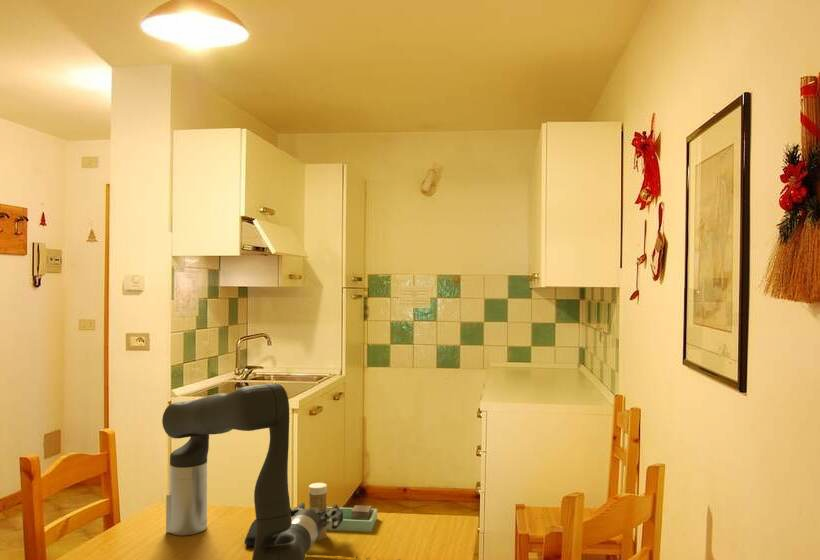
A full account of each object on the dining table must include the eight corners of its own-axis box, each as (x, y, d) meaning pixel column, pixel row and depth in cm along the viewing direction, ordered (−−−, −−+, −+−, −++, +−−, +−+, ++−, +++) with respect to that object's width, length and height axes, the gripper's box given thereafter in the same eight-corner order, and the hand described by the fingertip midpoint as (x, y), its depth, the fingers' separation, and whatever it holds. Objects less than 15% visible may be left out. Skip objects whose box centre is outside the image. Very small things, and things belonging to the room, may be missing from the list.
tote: (315, 531, 163) (315, 519, 163) (324, 518, 172) (324, 506, 172) (371, 534, 161) (371, 521, 161) (377, 520, 170) (377, 508, 170)
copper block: (351, 526, 165) (351, 511, 165) (354, 520, 169) (354, 505, 169) (368, 527, 164) (368, 511, 164) (371, 520, 169) (371, 505, 169)
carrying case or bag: (288, 549, 153) (293, 526, 167) (288, 536, 153) (293, 515, 167) (243, 550, 152) (252, 527, 166) (243, 538, 152) (252, 516, 166)
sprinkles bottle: (330, 539, 158) (330, 485, 158) (313, 543, 155) (313, 488, 155) (322, 533, 161) (322, 480, 162) (305, 537, 159) (305, 483, 159)
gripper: (332, 516, 143) (347, 493, 159) (271, 514, 145) (292, 491, 161) (332, 550, 143) (347, 523, 159) (271, 546, 145) (292, 520, 161)
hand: (319, 507), depth 160 cm, fingers open, 8 cm apart
